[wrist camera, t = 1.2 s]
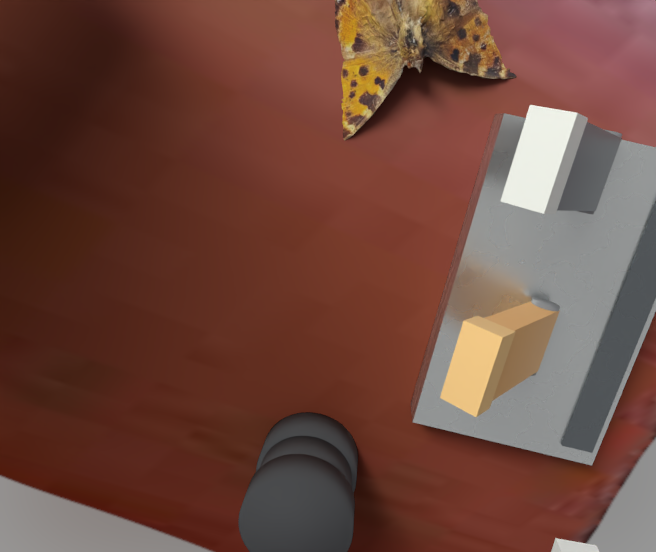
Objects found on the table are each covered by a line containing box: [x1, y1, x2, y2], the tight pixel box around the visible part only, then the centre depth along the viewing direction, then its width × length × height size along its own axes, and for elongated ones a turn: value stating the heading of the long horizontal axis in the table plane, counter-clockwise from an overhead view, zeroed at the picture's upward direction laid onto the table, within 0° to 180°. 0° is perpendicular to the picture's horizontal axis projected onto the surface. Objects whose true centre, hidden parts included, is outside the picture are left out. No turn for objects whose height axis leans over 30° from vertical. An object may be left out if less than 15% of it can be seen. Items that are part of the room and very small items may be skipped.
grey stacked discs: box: [239, 412, 358, 552], centre depth 37 cm, size 7×7×8 cm
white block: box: [501, 105, 622, 214], centre depth 27 cm, size 2×4×10 cm
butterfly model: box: [335, 0, 517, 140], centre depth 32 cm, size 9×12×3 cm
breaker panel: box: [411, 113, 656, 465], centre depth 34 cm, size 12×20×3 cm, turn 168°
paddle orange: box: [440, 298, 560, 417], centre depth 30 cm, size 2×4×10 cm
